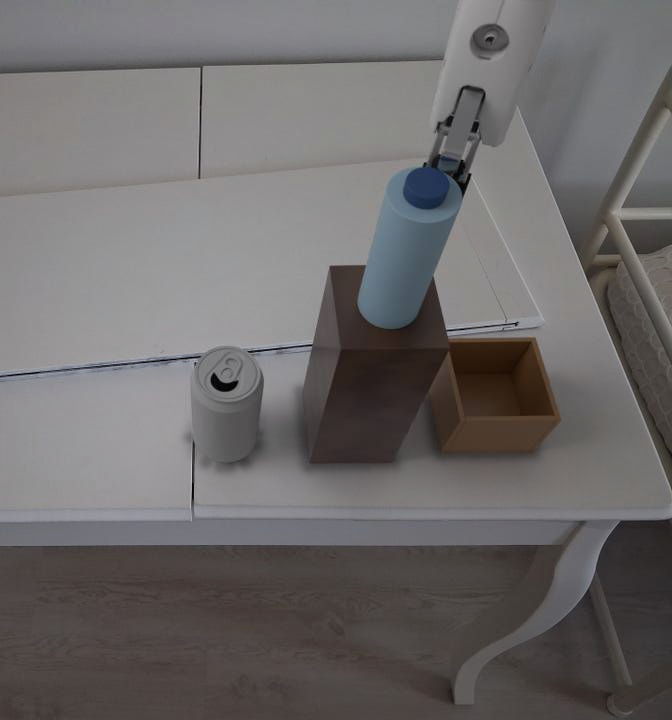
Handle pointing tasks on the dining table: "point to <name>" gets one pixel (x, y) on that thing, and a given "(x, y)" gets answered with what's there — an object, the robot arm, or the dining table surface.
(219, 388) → the beverage can
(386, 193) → the bottle
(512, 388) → the open wooden box
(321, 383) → the plinth
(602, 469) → the dining table surface
